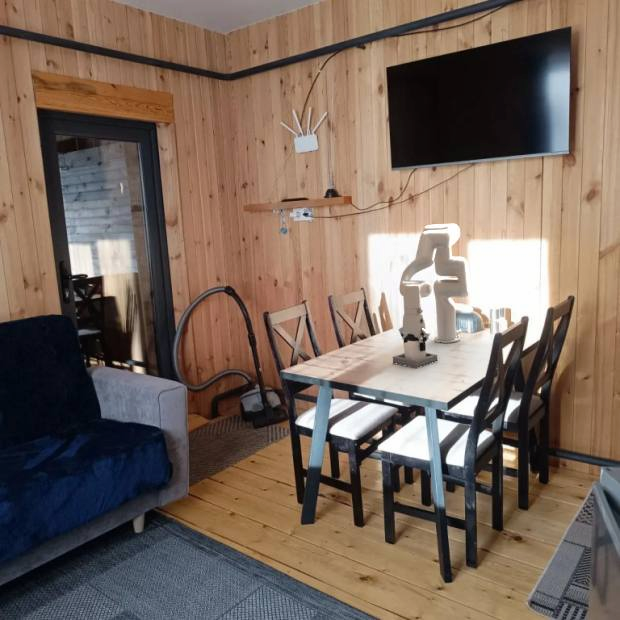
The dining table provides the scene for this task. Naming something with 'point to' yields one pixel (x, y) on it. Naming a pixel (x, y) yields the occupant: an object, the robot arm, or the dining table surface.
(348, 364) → the dining table surface
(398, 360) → the tray
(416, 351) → the medicine bottle
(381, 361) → the dining table surface
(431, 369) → the dining table surface
